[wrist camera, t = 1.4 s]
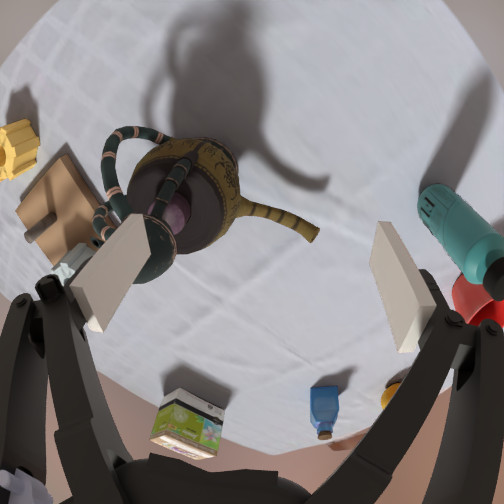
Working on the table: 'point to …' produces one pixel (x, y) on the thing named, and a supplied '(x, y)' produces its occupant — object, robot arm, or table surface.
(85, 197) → the gear board
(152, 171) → the teapot
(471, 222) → the beverage bottle
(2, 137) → the ochre gear
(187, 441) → the tea box
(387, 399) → the fruit
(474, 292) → the flower pot
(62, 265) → the pale grey gear
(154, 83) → the table surface
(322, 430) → the perfume bottle
